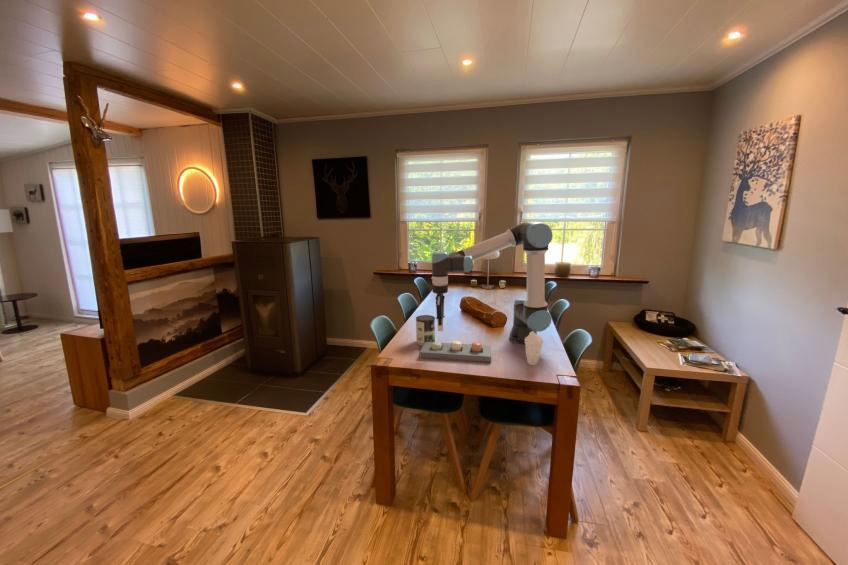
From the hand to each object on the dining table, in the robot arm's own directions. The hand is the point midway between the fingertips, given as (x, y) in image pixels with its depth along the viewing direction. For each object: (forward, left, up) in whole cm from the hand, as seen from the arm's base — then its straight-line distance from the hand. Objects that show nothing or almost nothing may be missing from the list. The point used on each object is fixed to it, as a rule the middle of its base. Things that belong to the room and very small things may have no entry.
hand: (440, 330), depth 171 cm
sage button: (+2, 0, -11) cm, 11 cm away
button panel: (-8, 0, -12) cm, 14 cm away
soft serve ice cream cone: (-44, +5, -12) cm, 46 cm away
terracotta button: (-18, 0, -10) cm, 20 cm away
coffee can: (+10, -14, -12) cm, 21 cm away
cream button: (-8, 0, -10) cm, 13 cm away
